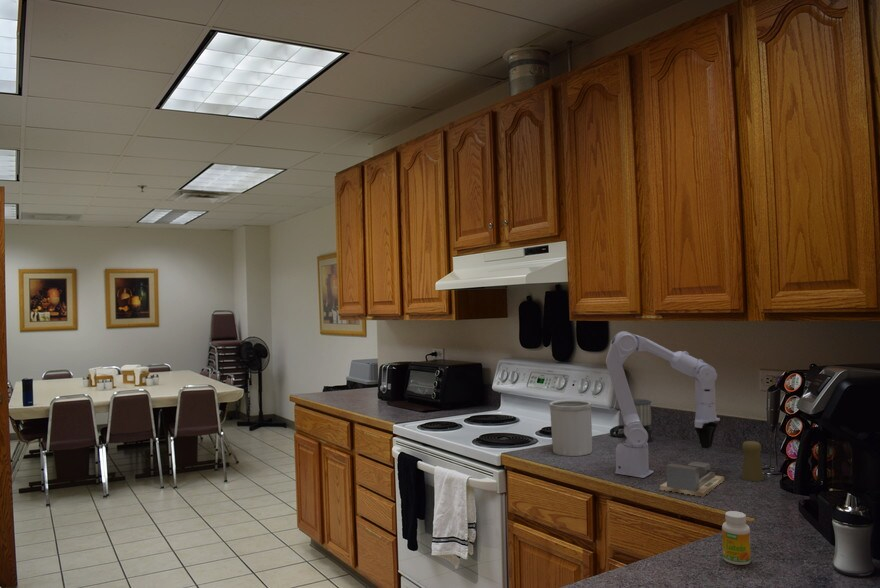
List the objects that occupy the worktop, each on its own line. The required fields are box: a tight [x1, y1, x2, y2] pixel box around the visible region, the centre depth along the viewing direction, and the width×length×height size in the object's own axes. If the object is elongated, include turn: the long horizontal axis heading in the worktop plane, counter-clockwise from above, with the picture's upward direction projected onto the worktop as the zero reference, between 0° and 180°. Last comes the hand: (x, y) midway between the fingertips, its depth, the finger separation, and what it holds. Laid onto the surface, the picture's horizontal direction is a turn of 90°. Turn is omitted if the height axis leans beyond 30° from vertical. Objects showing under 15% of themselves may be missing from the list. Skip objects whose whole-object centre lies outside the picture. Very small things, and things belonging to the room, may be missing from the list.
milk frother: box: [609, 398, 654, 443], centre depth 252 cm, size 14×16×15 cm
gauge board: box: [659, 472, 725, 498], centre depth 191 cm, size 12×19×3 cm, turn 140°
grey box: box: [665, 463, 699, 492], centre depth 184 cm, size 8×3×6 cm, turn 50°
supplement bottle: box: [721, 510, 752, 566], centre depth 138 cm, size 5×5×10 cm
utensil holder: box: [548, 398, 593, 457], centre depth 234 cm, size 15×15×18 cm
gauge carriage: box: [686, 460, 718, 479], centre depth 194 cm, size 8×5×4 cm, turn 50°
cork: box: [741, 440, 765, 482], centre depth 196 cm, size 6×6×11 cm
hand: (706, 447), depth 201 cm, fingers closed
